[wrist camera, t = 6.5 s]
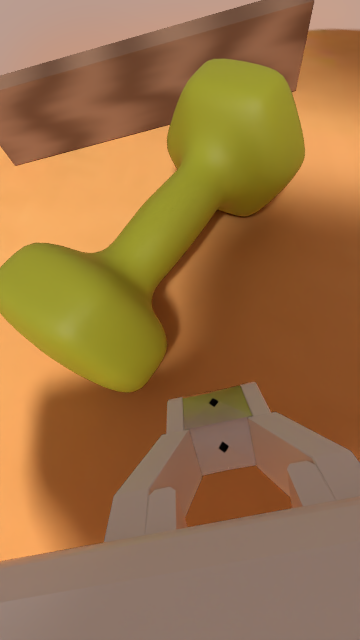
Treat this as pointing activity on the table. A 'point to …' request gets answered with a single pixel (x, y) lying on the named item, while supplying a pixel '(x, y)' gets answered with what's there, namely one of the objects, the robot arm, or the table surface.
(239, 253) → the table surface
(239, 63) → the dumbbell
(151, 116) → the walnut board
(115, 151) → the table surface
